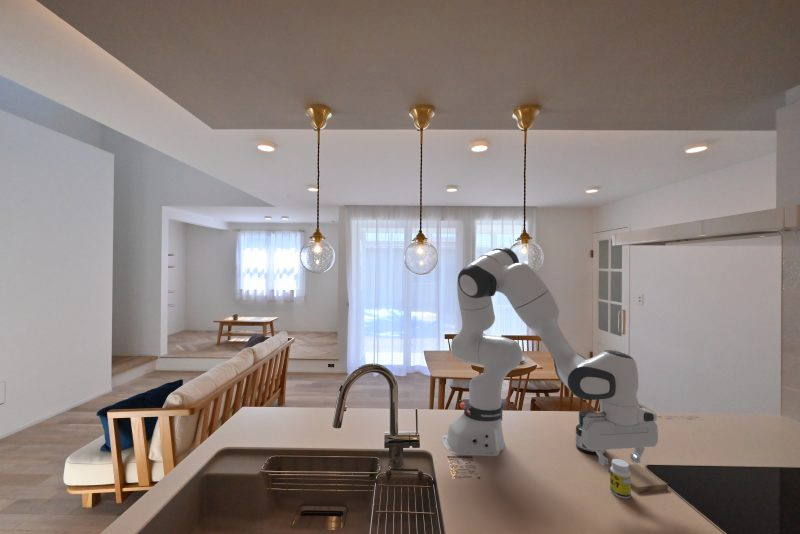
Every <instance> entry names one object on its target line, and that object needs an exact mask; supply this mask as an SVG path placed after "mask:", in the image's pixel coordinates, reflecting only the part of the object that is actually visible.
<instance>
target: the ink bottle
mask: <svg viewBox="0 0 800 534" xmlns="http://www.w3.org/2000/svg"><path fill="white" fill-rule="evenodd" d="M588 413H598V412H597V411H594V410H590V409H589V410H588V409H581V410H579V412H578V424H577V425H576V426H575V446H576V448H577V449H578V450H579V451H582V452H583V453H587V454H590V455H594V456H598V455H597V453H596V451H595V450H590V449H588V448H587V447H586V446H585V445H584V444H583V443H582V441H581V435H582V427H583V418H584V417H585V416H586V415H588Z"/></svg>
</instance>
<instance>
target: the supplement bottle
mask: <svg viewBox="0 0 800 534" xmlns="http://www.w3.org/2000/svg"><path fill="white" fill-rule="evenodd" d="M629 465H630V464H629V463H628V462H627V461H625V460H623V459H621V458H613V459H612V460H611V466H610V467H611V468H610V472H609V473H610V474H609V476H610V477H609V478H610V479H609V480H610V481H609V483H610V484H609V485H610V486H609V489H610V492H611V494H613V495H614V496H616V497H618V498H621V499H629V498H631V496H632V495H631V494H632V489H631V473H630V471H629Z"/></svg>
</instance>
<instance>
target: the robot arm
mask: <svg viewBox="0 0 800 534" xmlns="http://www.w3.org/2000/svg"><path fill="white" fill-rule="evenodd" d="M533 269H534V268H533ZM533 269H532V267H531V266H530V265H528V264H527V263H524V262H520V260H519V258H518V255H517V253H515V252H514V251H513V250H512V249H510V248H509V247H497V248H493V249H492V250H491V251H488V252H486V253H484V254H482V255H480V256H479V257H477V259H475V260H473V261H472V262H471V263H469V264H467V265H465V266H464V267H463V268H462V269H461V270H460V272H459V273H458V274H457V275H458V276H457V287H456V289H457V290H456V291H457V299H458V306H459V310H460V315H461V316H460V317H461V322H462V324H461V325H462V326H461V329H460V331H459V332H458V333H457V334H456V335H455V336H454V337H453V339H452V341H451V344H450V345H451V346H450V349H451V353H452V355H453V357H454V358H455V359H457V360H459V361H462V362H464V363H467V364H473V365H477V366H482V367H483V372H482V373H480V374H477V375H475V376H474V377H472V379H470V382H469V385H468V387H469V391H468V392H469V393H468V399H469V401H468V402H467V403H465V402H463V401H462V402H460V403H459V407H460V408H461V410H463V413H462V414H461V415H460V416H459V417H457V418H456V419H455V420H453V421H452V422H451V423H449V425H448V428H447V429H448V430H447V434H443V435H442V437H441V440H440V441H441V443H442V446H443V447H444V448H445V449H446V451H448V452H449V453H451V455H452V454H453V455H457V456H483V457H484V456H485V457H487V456H488V457H498V456H499V455H500V453H501V451H503V450H504V449H505V448H506V443H505V442H506V441H505V438H504V434H503V426H502V424H503V423H502V421H503V406H502V389H503V383H504V380H505V378H506V377H507V375H508V374H509V373H510V372H511V371H513V370H515V369H516V368H517V367H519V365H520V364H521V362H522V358H523V351H522V347H521V346H520V343H518V341H516V340H514V339H511V338H508V337H505V336H499V335H498V336H497V335H489V334H486V333H484V332H485V331H487V330H489V329H490V328H492V326H493V325H494V324H495V322H496V321H495V320H496V316H495V311H494V305H493V299H492V297H494V296H495V295H496V292H498V293H500V294H503V295H504V296H505V297H506V299H507V300H508V302H509V304H510V306H511V307H512V308H513V311H515V313H516V314H517V316H518V317H519V318H520V319H521V320H522V322H523V323H524V324H525V325H526V326H527V327H528V328H529V329H530V330H532V331H533V332H534V333H535V334H537V335H538V337H539V338H540V340H541V341H542V343H543V344H544V347H545V348H546V349H547V350H548V352H549V354H550V355H551V358H552V359H553V363H554V364H553V365H554V371H555V374H556V376H557V378H558V379H559V381H560V382H561V383H562V384H564V385H565V386H566V388H567V389H568V390H569V392H571V394H572V395H574V396H575V397H577V398H578V399H581V400H583V401H584V400H586V401H598V400H599V412H597V413H588V415H586V416H585V417H584V418H583V427H582V435H581V441H582V443H583V444H584V445H585V446H586V447H587V448H588V449H590V450H595V451H596V453H597V455H596V456H598V463H599V464H600V465H601V466H608V465H609V459H608V458H607V457H606V456H604V454H605V453H606V451H607V450H621V449H623V450H624V449H633V453H630V454H629V456H630V459H629V460H630V461H631V462H632V463H633V464H640V463H641V457H642V455H643V454H644V452H645V448H649V447H650V448H651V447H652V448H653V447H656V446H657V444H658V442H659V430H658V424H657V423H656V422H657V420H658V419H657V418H658V417H657V413H655V412H653V411H651V410H649V409H648V408H646V407H643V406H640V403H639V400H638V391H639V373H638V367H637V363H636V361H635V359H634V358H633V357H632V356H630V355H629V354H627V353H624V352H621V351H617V350H611V349H604V350H602V352H600V353H599V354H597V355H595V356H592V357H590V358H587V359H586V358H585V356H582V355H581V354H579V353H578V352H577V351H575V350H574V349H573V348H572V346H571V344H570V343H569V341H568V339H567V338H566V337H565V335H564V334H563V332H562V330H561V328H560V327H559V322H558V319H559V316H560V309H559V307H558V304H557V301H556V299H555V297H554V295H552V292H551V291H550V289H549V288H548V286H547V285H546V284H545V282H544V281H543V280H542V279H541V277H540V276H539V275H538V274H537V272H535V270H533Z"/></svg>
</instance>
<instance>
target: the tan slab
mask: <svg viewBox="0 0 800 534" xmlns="http://www.w3.org/2000/svg"><path fill="white" fill-rule="evenodd" d="M610 468H611V466H608V473H610ZM629 471H630V473H631V491H634V492H635V493H638V494H639V493H647V492H655V491H656V492H657V491H665V490H669V483H667V482H666V481H664V480H662V479H661V478H660V477H658V476H656V475H655V474H653V473H652V472H650V471H649V470H647V469H645V468H644V467H643V466H641V465H640V464H639V463H633V464H629Z"/></svg>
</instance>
